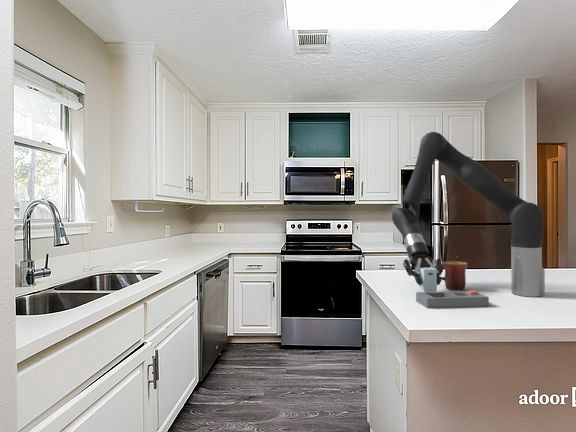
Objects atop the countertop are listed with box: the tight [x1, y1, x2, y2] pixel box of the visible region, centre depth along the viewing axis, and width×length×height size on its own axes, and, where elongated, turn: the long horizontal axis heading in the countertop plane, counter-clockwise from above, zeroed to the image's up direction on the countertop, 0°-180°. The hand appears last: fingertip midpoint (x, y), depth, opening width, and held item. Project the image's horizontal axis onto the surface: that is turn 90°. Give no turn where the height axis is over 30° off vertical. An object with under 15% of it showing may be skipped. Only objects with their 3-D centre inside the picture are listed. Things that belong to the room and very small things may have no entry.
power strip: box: [415, 290, 490, 309], centre depth 119 cm, size 20×9×4 cm, turn 92°
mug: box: [434, 260, 468, 291], centre depth 141 cm, size 12×9×10 cm
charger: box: [418, 267, 438, 292], centre depth 129 cm, size 4×5×10 cm
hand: (429, 283), depth 128 cm, fingers open, 6 cm apart
